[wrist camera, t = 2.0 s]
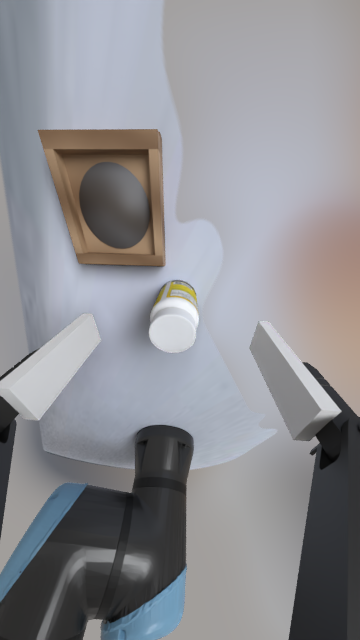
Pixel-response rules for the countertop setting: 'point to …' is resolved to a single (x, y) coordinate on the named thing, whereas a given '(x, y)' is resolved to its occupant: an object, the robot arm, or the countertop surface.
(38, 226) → the countertop surface
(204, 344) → the countertop surface
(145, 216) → the dock board
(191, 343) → the supplement bottle
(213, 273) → the countertop surface
